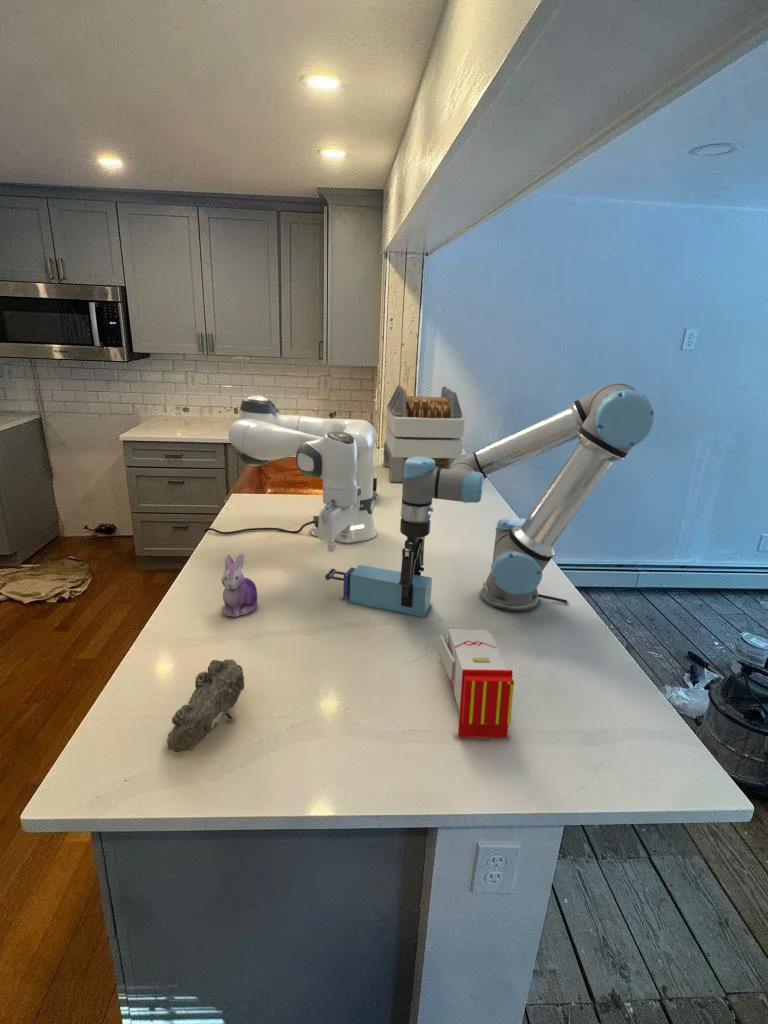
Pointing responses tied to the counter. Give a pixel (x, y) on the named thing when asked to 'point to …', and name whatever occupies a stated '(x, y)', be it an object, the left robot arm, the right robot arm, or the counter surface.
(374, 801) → the counter surface
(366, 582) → the light-blue storage box
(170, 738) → the fossil
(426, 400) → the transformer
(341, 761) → the counter surface
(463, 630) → the toy
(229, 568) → the figurine
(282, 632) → the counter surface
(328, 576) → the drawer
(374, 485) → the figurine character
